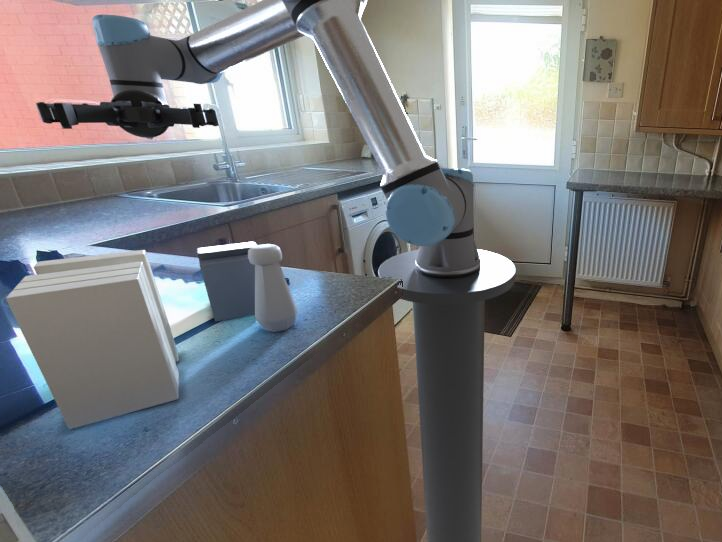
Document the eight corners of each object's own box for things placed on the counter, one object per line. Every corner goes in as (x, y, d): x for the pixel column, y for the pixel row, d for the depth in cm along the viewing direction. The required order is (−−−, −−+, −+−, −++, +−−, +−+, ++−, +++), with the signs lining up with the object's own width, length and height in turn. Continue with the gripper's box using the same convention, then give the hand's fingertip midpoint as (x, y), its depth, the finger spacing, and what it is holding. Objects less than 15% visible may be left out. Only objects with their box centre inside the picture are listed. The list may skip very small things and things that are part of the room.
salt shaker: (253, 336, 61) (234, 253, 56) (262, 319, 66) (245, 241, 61) (297, 332, 62) (282, 251, 57) (302, 315, 67) (288, 239, 62)
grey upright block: (265, 294, 75) (253, 238, 71) (272, 310, 69) (260, 250, 65) (212, 303, 70) (196, 245, 66) (215, 322, 64) (197, 259, 60)
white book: (178, 354, 56) (145, 249, 50) (178, 361, 54) (143, 253, 48) (87, 375, 51) (37, 261, 45) (84, 383, 49) (33, 266, 43)
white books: (178, 372, 52) (142, 261, 46) (178, 399, 47) (137, 279, 41) (80, 397, 47) (25, 275, 41) (68, 430, 42) (5, 298, 36)
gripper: (231, 136, 80) (245, 144, 64) (47, 136, 66) (8, 146, 50) (222, 94, 77) (234, 92, 61) (28, 84, 63) (-21, 77, 47)
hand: (132, 116), depth 56 cm, fingers open, 13 cm apart
